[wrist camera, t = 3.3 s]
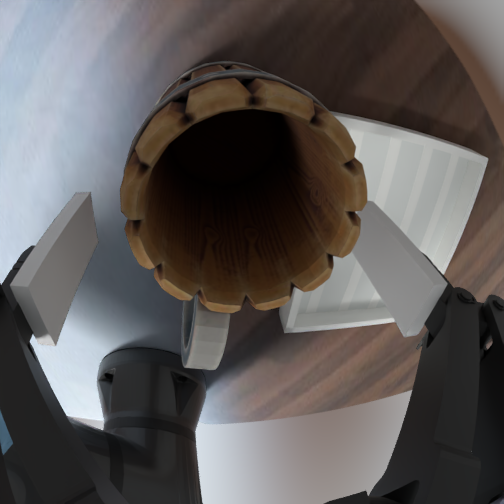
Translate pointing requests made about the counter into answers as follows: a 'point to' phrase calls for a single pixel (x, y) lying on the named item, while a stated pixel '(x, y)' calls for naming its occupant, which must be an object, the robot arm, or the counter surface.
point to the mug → (238, 197)
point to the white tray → (394, 217)
